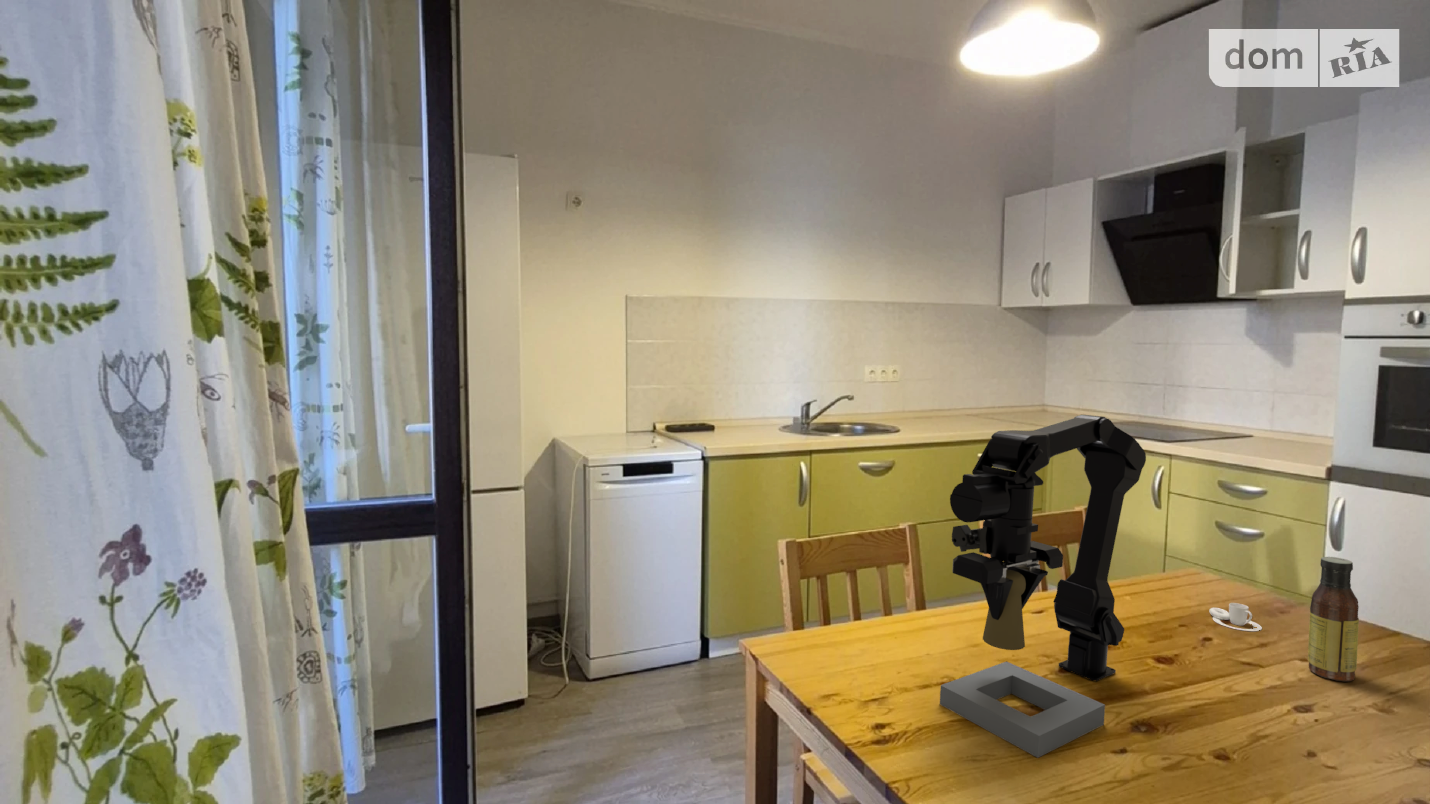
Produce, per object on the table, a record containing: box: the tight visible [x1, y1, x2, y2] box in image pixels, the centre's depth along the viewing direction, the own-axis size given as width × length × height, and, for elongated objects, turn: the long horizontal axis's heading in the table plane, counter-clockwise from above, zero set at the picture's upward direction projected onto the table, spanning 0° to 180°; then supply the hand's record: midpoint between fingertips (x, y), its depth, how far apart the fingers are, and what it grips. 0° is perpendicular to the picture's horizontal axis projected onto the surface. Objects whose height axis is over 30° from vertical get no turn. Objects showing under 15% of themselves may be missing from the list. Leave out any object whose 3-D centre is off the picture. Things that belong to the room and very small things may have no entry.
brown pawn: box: [982, 570, 1026, 651], centre depth 107 cm, size 6×6×11 cm
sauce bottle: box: [1307, 556, 1360, 683], centre depth 118 cm, size 7×6×20 cm
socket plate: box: [939, 661, 1106, 759], centre depth 104 cm, size 16×16×3 cm
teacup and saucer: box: [1208, 602, 1263, 632], centre depth 141 cm, size 9×8×4 cm
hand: (1005, 616), depth 107 cm, fingers closed on brown pawn, 4 cm apart
